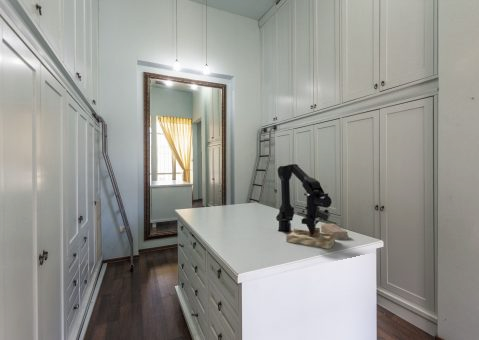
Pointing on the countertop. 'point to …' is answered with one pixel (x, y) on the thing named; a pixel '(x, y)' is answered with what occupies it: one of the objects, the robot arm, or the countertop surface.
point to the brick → (334, 231)
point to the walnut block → (315, 233)
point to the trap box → (311, 239)
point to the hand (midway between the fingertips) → (312, 234)
